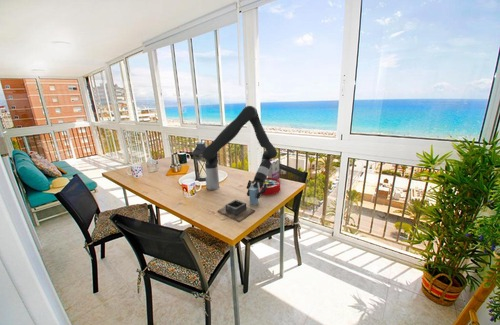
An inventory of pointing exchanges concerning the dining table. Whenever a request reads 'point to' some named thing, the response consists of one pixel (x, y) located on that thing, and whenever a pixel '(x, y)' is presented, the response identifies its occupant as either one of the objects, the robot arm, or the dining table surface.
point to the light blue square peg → (253, 195)
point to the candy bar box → (274, 169)
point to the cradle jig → (236, 210)
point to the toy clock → (271, 186)
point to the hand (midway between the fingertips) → (252, 197)
